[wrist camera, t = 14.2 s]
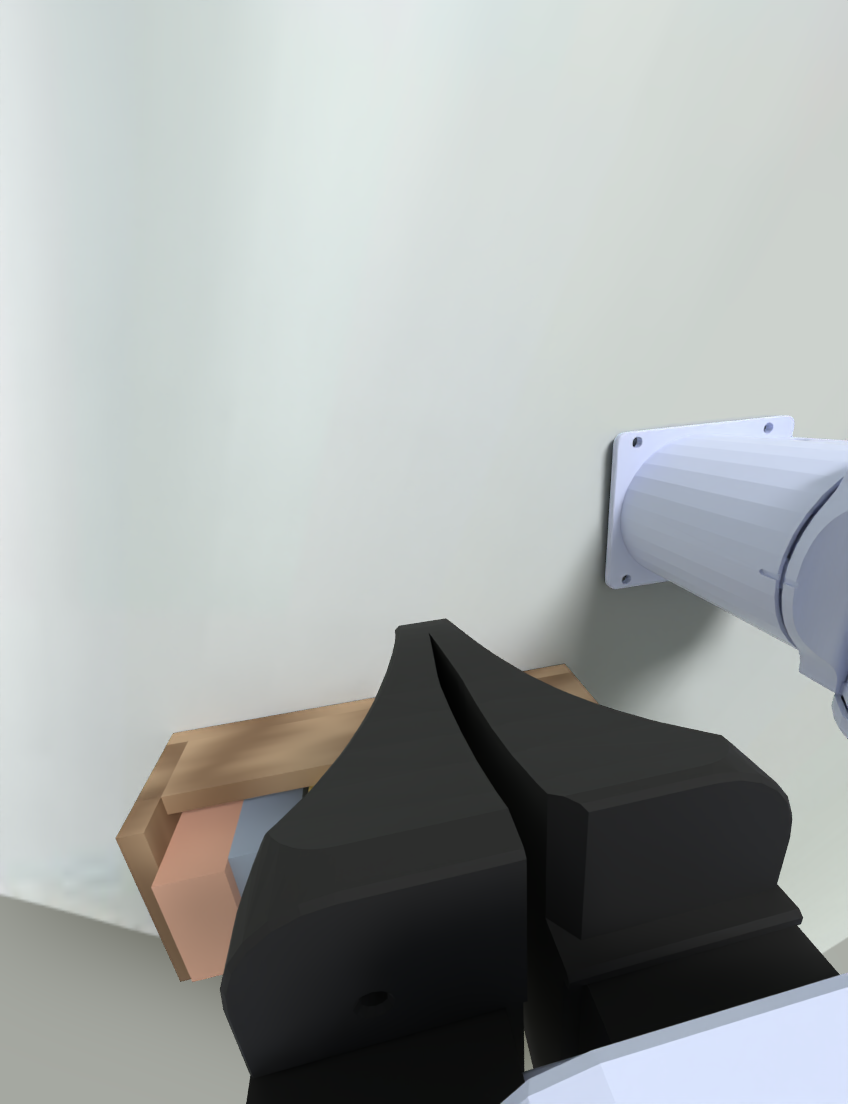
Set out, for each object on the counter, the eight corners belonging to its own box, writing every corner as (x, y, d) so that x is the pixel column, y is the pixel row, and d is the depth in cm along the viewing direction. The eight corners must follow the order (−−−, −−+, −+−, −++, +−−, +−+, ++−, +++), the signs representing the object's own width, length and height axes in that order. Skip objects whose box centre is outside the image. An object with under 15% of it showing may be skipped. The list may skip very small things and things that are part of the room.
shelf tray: (564, 663, 24) (624, 734, 19) (561, 784, 27) (612, 874, 22) (173, 733, 21) (115, 838, 16) (216, 858, 24) (180, 981, 19)
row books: (307, 751, 22) (294, 855, 17) (326, 834, 24) (319, 950, 19) (198, 772, 21) (151, 887, 16) (226, 856, 23) (192, 981, 18)
